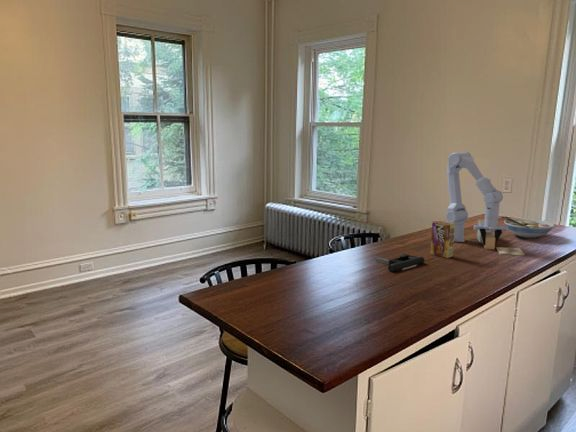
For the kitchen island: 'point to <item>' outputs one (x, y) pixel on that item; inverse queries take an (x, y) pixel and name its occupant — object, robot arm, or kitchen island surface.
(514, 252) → the pad
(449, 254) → the candy box
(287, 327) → the kitchen island surface
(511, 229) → the ramen bowl
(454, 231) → the robot arm
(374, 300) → the kitchen island surface
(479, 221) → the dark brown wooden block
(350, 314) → the kitchen island surface
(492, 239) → the tan rectangular block
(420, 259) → the door handle
